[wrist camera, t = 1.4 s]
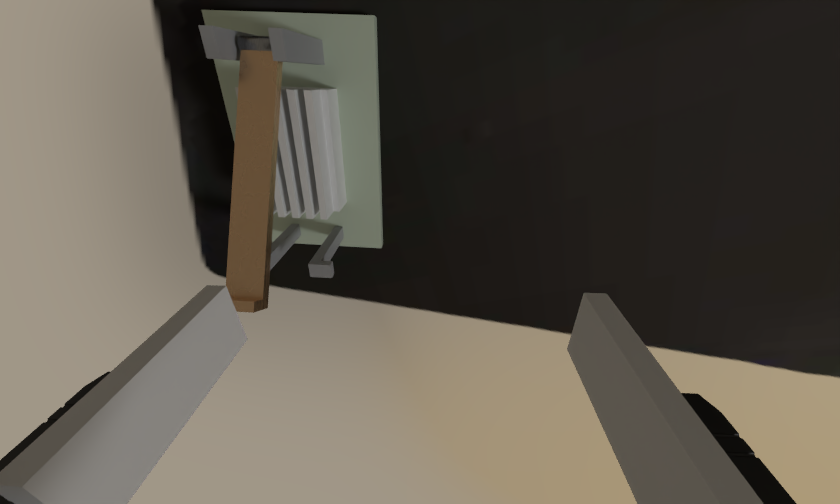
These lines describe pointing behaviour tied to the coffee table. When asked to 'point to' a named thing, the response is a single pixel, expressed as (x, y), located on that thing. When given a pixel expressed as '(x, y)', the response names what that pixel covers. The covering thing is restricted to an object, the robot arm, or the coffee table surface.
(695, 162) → the coffee table surface
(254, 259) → the strap
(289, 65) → the heatsink fixture
